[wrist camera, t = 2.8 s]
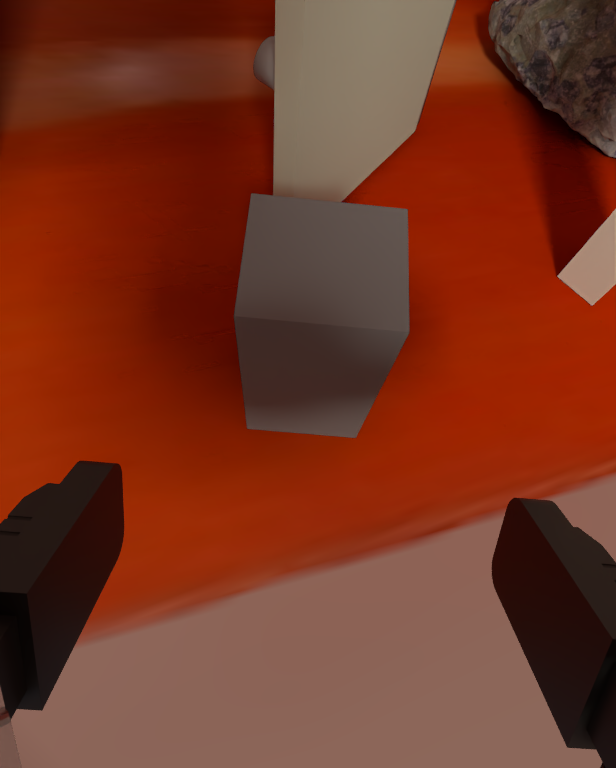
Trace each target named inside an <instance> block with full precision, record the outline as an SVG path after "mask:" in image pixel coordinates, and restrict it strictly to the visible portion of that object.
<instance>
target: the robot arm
mask: <svg viewBox="0 0 616 768" xmlns="http://www.w3.org/2000/svg"><path fill="white" fill-rule="evenodd" d="M123 537H124V510H123V485H122V470H121V467H120V465H119V464H116V463H104V462H92V461H79V462H77V464H76V465H75V466H74V467H73V468H72V470H71V471H70V472H69V473H68V474H67V476H66V477H65V478H64V479H63V481H62V482H61V483H60V484H53V483H48V484H46V485H44V486H43V487H41V488H39V489H37V490H36V491H34V492H32V493H31V494H29V495H27V496H26V497H24V498H23V499H22V500H21V501H20V502H19V504H18V505H17V506H16V507H15V508H14V509H13V510H12V511H11V513H10V514H9V515H8V518H7V519H4V520H3V522H2V523H1V524H0V768H22V767H21V762H20V758H19V754H18V750H17V745H16V741H15V737H14V733H13V728H12V725H11V718H12V716H13V715H14V713H15V711H16V709H28V710H43V708H44V705H45V704H46V702H47V700H48V698H49V696H50V694H51V691H52V690H53V688H54V685H55V684H56V682H57V680H58V678H59V676H60V674H61V672H62V670H63V668H64V666H65V664H66V662H67V660H68V658H69V656H70V654H71V652H72V650H73V648H74V646H75V644H76V642H77V640H78V638H79V636H80V634H81V632H82V630H83V628H84V626H85V624H86V622H87V620H88V618H89V616H90V614H91V612H92V610H93V608H94V606H95V604H96V602H97V600H98V598H99V596H100V594H101V592H102V590H103V588H104V586H105V584H106V582H107V580H108V578H109V576H110V574H111V572H112V570H113V568H114V566H115V564H116V562H117V559H118V557H119V554H120V551H121V547H122V543H123ZM492 579H493V584H494V587H495V590H496V592H497V595H498V597H499V599H500V601H501V603H502V606H503V608H504V610H505V612H506V614H507V616H508V619H509V621H510V623H511V625H512V627H513V630H514V632H515V634H516V636H517V638H518V641H519V643H520V645H521V647H522V649H523V652H524V654H525V656H526V658H527V660H528V663H529V665H530V667H531V669H532V671H533V673H534V676H535V678H536V680H537V682H538V684H539V687H540V689H541V691H542V693H543V695H544V697H545V699H546V702H547V704H548V706H549V708H550V711H551V713H552V715H553V717H554V719H555V721H556V724H557V726H558V728H559V730H560V733H561V735H562V737H563V739H564V741H565V743H566V746H567V747H568V748H582V749H596V750H597V752H598V754H599V756H600V757H601V760H602V761H603V762H602V765H601V767H600V768H616V562H615V561H614V560H613V558H612V557H611V556H610V555H609V554H608V552H607V551H606V550H605V549H604V547H603V546H602V545H601V544H600V543H598V542H597V541H596V540H594V539H593V538H592V537H590V536H589V535H588V534H586V533H585V532H584V531H582V530H581V529H580V528H578V527H573V526H572V525H571V524H570V522H569V521H568V520H567V518H566V517H565V516H564V514H563V513H562V512H561V510H560V509H559V508H558V506H557V505H556V504H555V503H554V502H552V501H548V500H536V499H524V498H513V499H512V500H511V501H510V502H509V504H508V506H507V509H506V513H505V516H504V520H503V524H502V527H501V531H500V534H499V538H498V541H497V545H496V548H495V552H494V555H493V560H492Z"/></svg>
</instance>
